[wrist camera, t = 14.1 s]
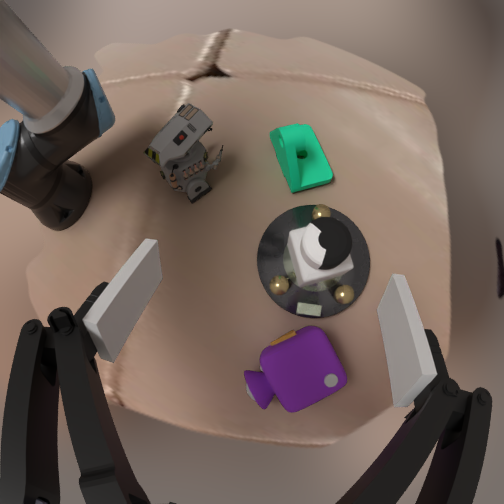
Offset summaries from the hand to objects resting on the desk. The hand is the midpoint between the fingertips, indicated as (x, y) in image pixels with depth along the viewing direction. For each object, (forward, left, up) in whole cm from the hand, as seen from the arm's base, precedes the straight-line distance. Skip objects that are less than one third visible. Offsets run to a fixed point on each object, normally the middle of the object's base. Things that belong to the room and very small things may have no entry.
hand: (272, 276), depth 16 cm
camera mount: (+1, +25, -31) cm, 40 cm away
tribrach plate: (+5, +8, -30) cm, 32 cm away
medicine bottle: (+5, +7, -29) cm, 30 cm away
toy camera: (+4, -10, -31) cm, 32 cm away
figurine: (-17, +21, -30) cm, 40 cm away
